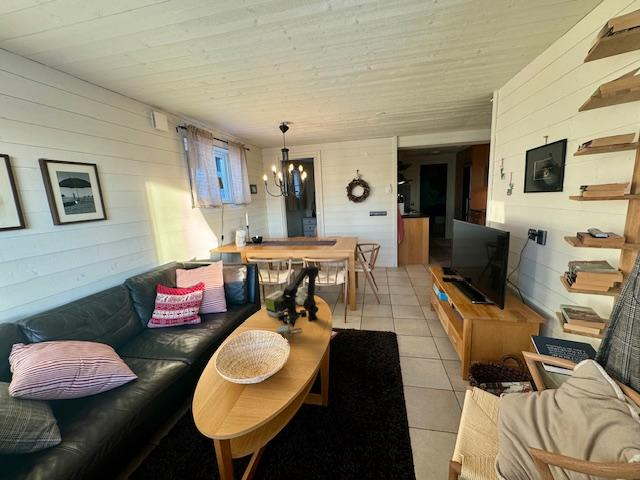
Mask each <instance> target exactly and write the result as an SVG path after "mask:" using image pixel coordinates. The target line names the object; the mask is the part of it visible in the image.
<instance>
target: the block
mask: <svg viewBox="0 0 640 480" xmlns="http://www.w3.org/2000/svg"><path fill="white" fill-rule="evenodd" d="M283 334H284V335H283V337H284V339H285V338H286V339H287V340H288V341H289V342H292V341H293V336H292V335H293V334H291V330H290V331H284V332H283ZM289 342H288V343H289Z"/></svg>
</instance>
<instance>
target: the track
mask: <svg viewBox="0 0 640 480" xmlns="http://www.w3.org/2000/svg"><path fill="white" fill-rule="evenodd" d="M290 330H291V334H292V335H294V334H295V335H296V334H301V333H303V331H302V327H297V328H290ZM299 330H301V331H299ZM272 331H273V332H277V333H278V330H272ZM281 335H283V336H284V332H282V333H281Z"/></svg>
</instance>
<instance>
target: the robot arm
mask: <svg viewBox="0 0 640 480" xmlns="http://www.w3.org/2000/svg"><path fill="white" fill-rule="evenodd" d="M319 272H320V271H319V267H317V266H314V265H308V266H304V267H302V268H301V269H300V271H299V273H298V274H297V275H296V277H295V278H294V279H293V281H292V282H291V283H289V284H287V286H285V288H284V290H283V292H284V293H283V295H282V299H283V300H280V301H279V303H278V304H277V309H278V310H279V311H280V312H282V311H284V310H286V309H287V310H286V311H287V313H286V314H285V313H284V312H283V313H279V314H278V316H277V318H278V321H279V322H281V321H284V320H285V319H287V320H288V321H289V323H290V324H291V326H292V327H293V328H295V325H296V322H297V320H299V318H300V317H301V318H307V321H308V322H309V321H310V322H312V321H317V320H318V316H317V313H318V312H319V307H318V306H317V303H316V299H315V289H316V279H317V277H318V276H319ZM306 276H307V278H308V279H307V280H308V281H307V284H308V285H307V287H308V290H307V292H306V295H307V298H306V299H305V300H304V305H303V304H302V306H303V309H300V310H299V311H297V304H296V303H297V302H296V301H295V298H296V297H297V296H296V293H297V291H298V288H300V287H299V286H300V285H301V284H302V283H303V280H304V279H305V278H306ZM286 295H287V296H289V297H287V296H286ZM307 313H308V314H307ZM288 321H287V322H288Z"/></svg>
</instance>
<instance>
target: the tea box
mask: <svg viewBox="0 0 640 480" xmlns="http://www.w3.org/2000/svg"><path fill="white" fill-rule="evenodd" d="M283 293H284V291H282V290H276V291H274V292H272V293H271V294H268V295H266V296H265V297H264V300H265V302H264V303H265V310H266V314H267V316H268V315H269V316H271V317H274V318H278V314H279V313H282V312H283V311H282V312H280V311H279V310H278V309H277V304H278V303H279V301H280V300H283V299H282V295H283ZM286 296H287V295H286ZM284 311H285V312H287V311H288V310H287V309H286V310H284ZM283 313H284V312H283Z"/></svg>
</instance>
